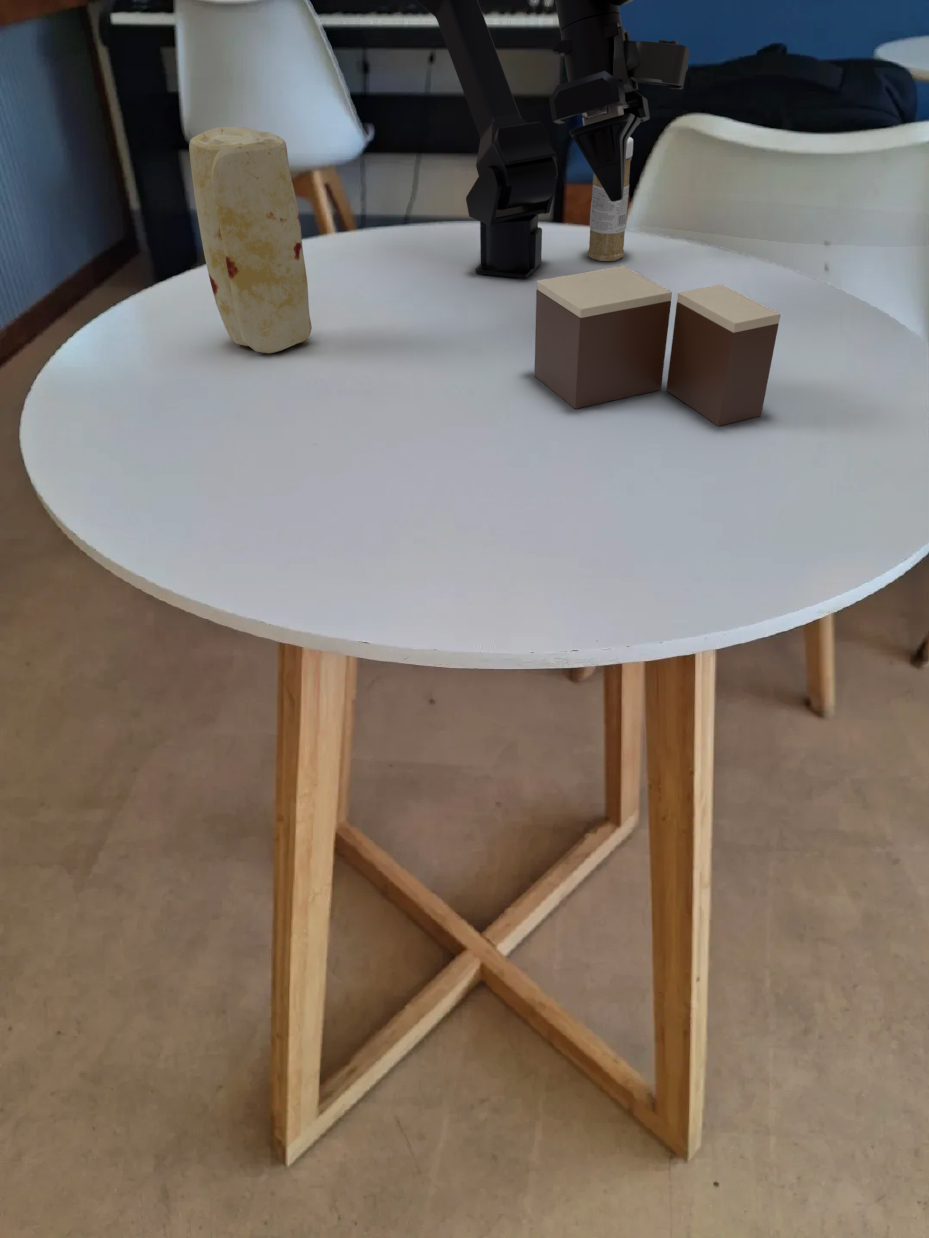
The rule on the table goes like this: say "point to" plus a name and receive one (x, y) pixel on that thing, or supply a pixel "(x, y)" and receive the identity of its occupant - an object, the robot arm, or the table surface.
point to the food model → (251, 236)
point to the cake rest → (601, 335)
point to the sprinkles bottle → (609, 218)
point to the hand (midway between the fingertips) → (617, 200)
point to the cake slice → (721, 353)
